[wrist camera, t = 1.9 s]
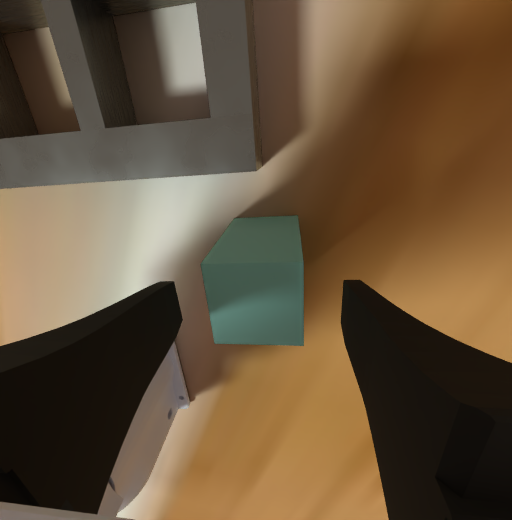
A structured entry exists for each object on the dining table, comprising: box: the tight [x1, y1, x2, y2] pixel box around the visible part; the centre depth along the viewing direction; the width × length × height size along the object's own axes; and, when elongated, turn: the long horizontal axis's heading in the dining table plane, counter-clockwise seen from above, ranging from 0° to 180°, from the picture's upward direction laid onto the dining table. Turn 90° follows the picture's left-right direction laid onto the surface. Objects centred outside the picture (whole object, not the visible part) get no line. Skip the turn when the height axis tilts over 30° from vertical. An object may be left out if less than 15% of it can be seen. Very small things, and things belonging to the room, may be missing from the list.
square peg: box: [201, 215, 304, 346], centre depth 14 cm, size 4×4×7 cm
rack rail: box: [0, 0, 262, 189], centre depth 13 cm, size 10×22×3 cm, turn 94°
